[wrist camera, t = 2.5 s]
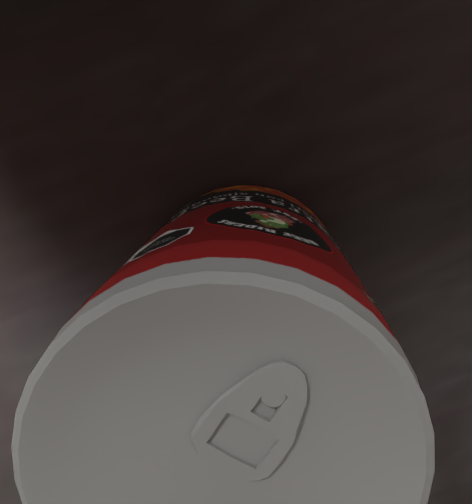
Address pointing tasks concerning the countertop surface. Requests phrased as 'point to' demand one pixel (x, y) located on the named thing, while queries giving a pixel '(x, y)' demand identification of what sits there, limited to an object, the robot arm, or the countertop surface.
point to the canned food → (227, 375)
